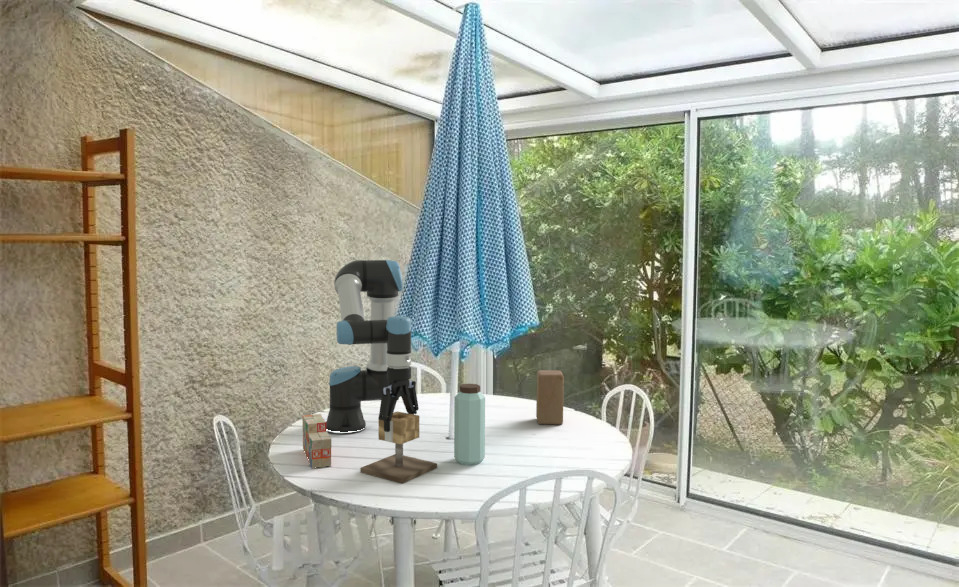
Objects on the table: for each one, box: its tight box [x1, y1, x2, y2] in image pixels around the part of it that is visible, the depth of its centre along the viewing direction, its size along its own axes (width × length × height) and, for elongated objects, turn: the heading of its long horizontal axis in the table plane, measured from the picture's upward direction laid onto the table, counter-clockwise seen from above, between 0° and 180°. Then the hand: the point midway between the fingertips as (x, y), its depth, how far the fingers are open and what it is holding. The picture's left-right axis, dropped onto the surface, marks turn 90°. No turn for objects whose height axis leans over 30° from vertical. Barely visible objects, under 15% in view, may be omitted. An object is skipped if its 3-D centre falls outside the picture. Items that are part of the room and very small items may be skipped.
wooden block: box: [535, 369, 565, 426], centre depth 272 cm, size 10×10×20 cm
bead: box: [378, 411, 420, 445], centre depth 213 cm, size 9×9×7 cm
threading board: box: [359, 443, 438, 485], centre depth 214 cm, size 17×17×14 cm
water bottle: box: [453, 383, 486, 466], centre depth 223 cm, size 10×10×25 cm
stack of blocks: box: [301, 413, 332, 469], centre depth 225 cm, size 21×6×12 cm, turn 22°
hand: (399, 437), depth 213 cm, fingers closed on bead, 9 cm apart
